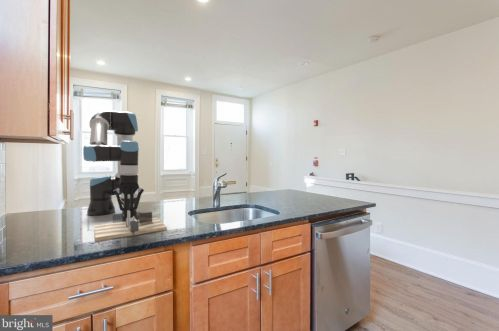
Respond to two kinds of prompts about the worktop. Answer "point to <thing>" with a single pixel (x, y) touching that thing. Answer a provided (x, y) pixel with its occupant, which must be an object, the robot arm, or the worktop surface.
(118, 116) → the robot arm
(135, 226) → the lock bar
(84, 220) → the worktop surface
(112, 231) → the wooden pallet
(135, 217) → the coffee cup
